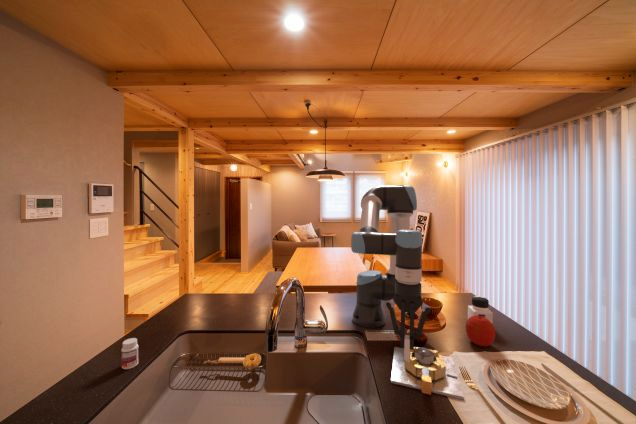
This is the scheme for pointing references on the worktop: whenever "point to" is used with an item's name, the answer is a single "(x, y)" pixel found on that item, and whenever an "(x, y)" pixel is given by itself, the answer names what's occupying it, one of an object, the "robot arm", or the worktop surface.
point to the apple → (480, 330)
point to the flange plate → (404, 377)
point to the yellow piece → (426, 369)
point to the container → (480, 308)
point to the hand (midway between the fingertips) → (406, 358)
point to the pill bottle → (130, 353)
